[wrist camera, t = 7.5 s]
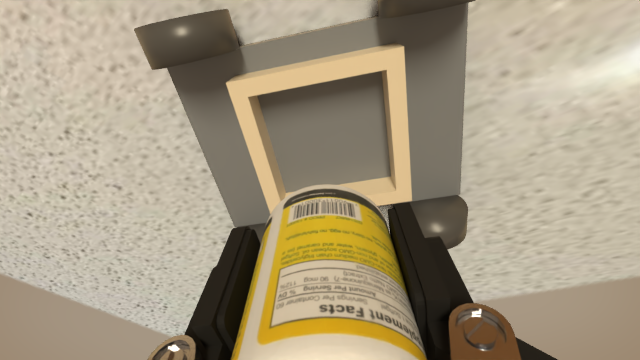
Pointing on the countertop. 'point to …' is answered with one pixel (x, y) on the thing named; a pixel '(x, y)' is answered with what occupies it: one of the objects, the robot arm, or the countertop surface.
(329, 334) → the supplement bottle
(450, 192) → the toy chassis
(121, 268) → the countertop surface
